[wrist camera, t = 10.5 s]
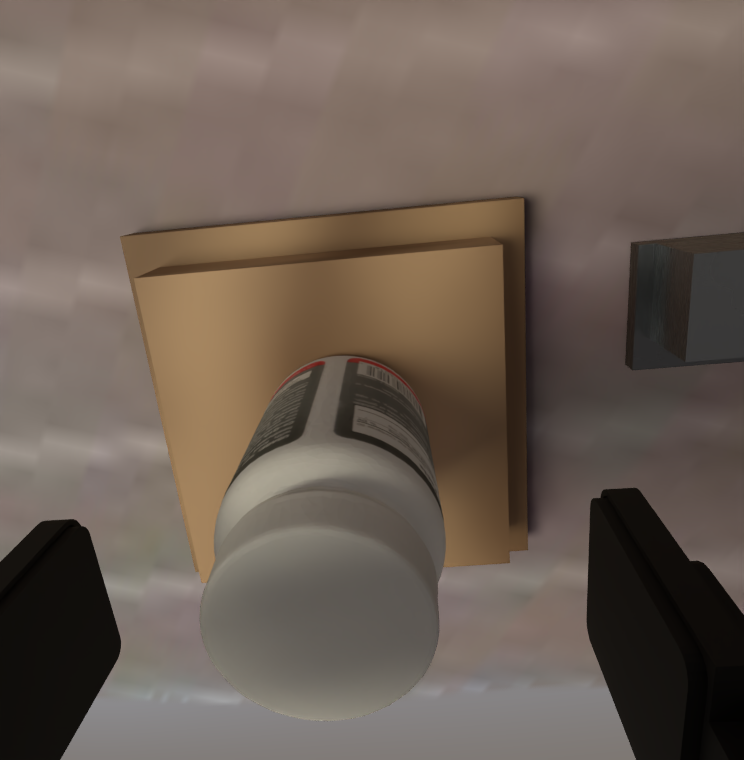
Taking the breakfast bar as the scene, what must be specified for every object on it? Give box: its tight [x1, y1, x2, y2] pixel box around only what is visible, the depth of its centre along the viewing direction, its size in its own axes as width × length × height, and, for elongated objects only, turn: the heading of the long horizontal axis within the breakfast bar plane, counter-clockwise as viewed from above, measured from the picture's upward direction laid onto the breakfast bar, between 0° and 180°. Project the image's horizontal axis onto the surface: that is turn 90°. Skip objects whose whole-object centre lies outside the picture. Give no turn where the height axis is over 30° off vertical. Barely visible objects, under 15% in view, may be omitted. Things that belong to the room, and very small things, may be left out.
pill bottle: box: [200, 356, 446, 721], centre depth 14 cm, size 5×5×8 cm
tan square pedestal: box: [120, 197, 528, 583], centre depth 19 cm, size 12×12×3 cm
